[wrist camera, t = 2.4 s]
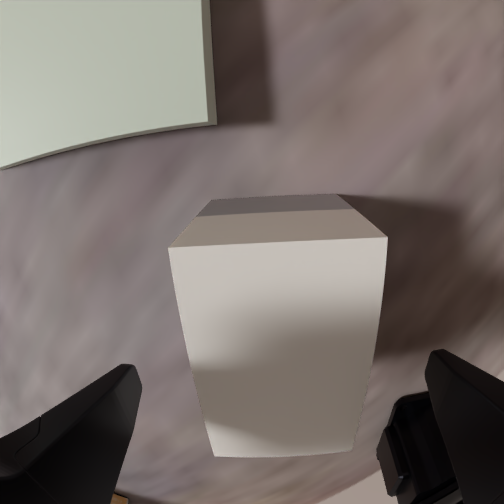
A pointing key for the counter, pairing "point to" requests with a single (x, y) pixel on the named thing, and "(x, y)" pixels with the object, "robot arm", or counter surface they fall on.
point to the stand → (101, 72)
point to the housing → (280, 320)
